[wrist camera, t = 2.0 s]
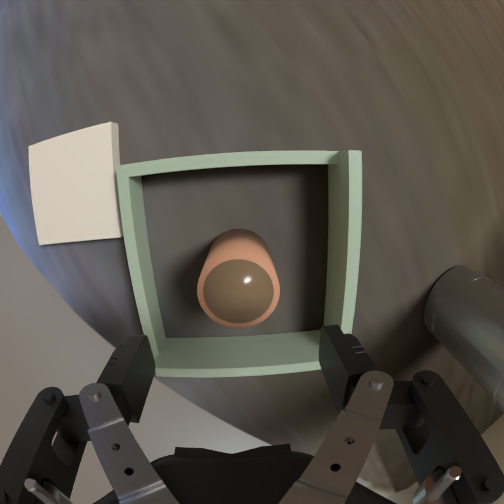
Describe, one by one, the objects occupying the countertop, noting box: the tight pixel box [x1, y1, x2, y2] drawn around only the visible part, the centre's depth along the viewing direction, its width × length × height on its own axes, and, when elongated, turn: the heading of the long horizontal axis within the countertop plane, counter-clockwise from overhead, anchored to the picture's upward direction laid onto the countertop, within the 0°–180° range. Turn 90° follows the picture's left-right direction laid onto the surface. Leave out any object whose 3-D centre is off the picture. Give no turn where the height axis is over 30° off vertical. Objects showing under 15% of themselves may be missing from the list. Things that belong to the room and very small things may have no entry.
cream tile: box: [29, 122, 124, 245], centre depth 22 cm, size 10×10×2 cm
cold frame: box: [116, 150, 362, 377], centre depth 23 cm, size 18×18×5 cm
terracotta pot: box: [197, 229, 280, 328], centre depth 22 cm, size 5×5×7 cm
